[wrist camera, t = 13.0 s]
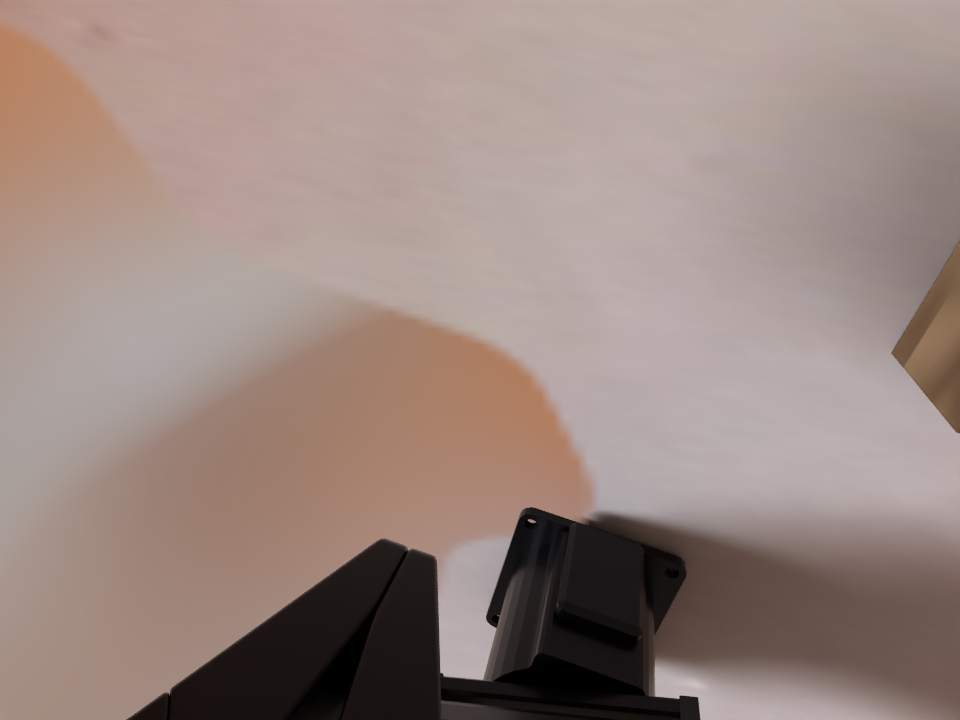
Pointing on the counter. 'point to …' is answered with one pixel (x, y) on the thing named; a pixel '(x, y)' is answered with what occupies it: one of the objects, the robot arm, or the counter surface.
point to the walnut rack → (937, 343)
